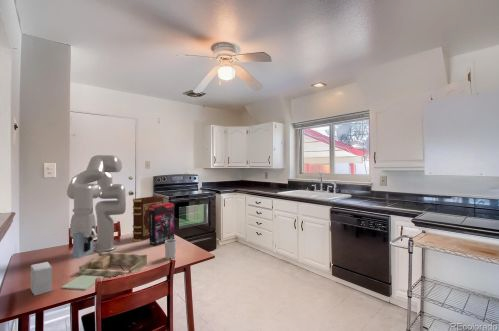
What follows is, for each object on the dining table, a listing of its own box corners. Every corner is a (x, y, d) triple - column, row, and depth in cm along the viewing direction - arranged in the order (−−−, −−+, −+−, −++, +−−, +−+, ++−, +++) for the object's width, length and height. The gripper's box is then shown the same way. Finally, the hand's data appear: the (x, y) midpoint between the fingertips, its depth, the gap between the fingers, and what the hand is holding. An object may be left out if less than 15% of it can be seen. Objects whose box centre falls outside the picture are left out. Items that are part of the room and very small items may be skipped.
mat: (61, 288, 115) (61, 286, 115) (81, 276, 127) (81, 275, 127) (85, 289, 114) (85, 288, 114) (104, 277, 126) (104, 276, 126)
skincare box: (52, 290, 113) (52, 267, 113) (34, 296, 108) (33, 271, 108) (48, 283, 120) (47, 260, 120) (30, 288, 115) (30, 264, 115)
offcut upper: (90, 267, 132) (90, 261, 132) (98, 261, 140) (98, 256, 140) (103, 267, 133) (103, 261, 133) (109, 261, 141) (109, 255, 141)
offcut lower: (88, 273, 132) (88, 267, 132) (99, 266, 141) (99, 260, 141) (100, 273, 132) (100, 268, 132) (111, 266, 141) (111, 261, 140)
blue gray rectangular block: (72, 258, 116) (72, 234, 116) (87, 251, 125) (87, 229, 125) (79, 258, 116) (78, 234, 116) (93, 251, 125) (93, 229, 124)
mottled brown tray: (79, 274, 130) (79, 262, 130) (100, 262, 145) (100, 252, 144) (131, 277, 126) (131, 265, 126) (146, 265, 141) (146, 254, 141)
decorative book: (137, 242, 181) (137, 200, 181) (130, 240, 186) (130, 199, 185) (163, 234, 200) (163, 196, 200) (156, 233, 205) (156, 195, 204)
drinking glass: (166, 260, 149) (166, 243, 148) (163, 256, 154) (163, 240, 154) (177, 257, 153) (178, 241, 152) (174, 254, 158) (174, 238, 158)
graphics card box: (154, 246, 172) (154, 206, 172) (148, 244, 176) (148, 205, 175) (174, 240, 186) (174, 203, 186) (168, 238, 190) (168, 202, 190)
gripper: (61, 212, 117) (61, 252, 118) (93, 213, 115) (93, 254, 116) (74, 209, 125) (74, 247, 125) (105, 210, 123) (105, 248, 123)
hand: (83, 250), depth 120 cm, fingers closed on blue gray rectangular block, 3 cm apart
